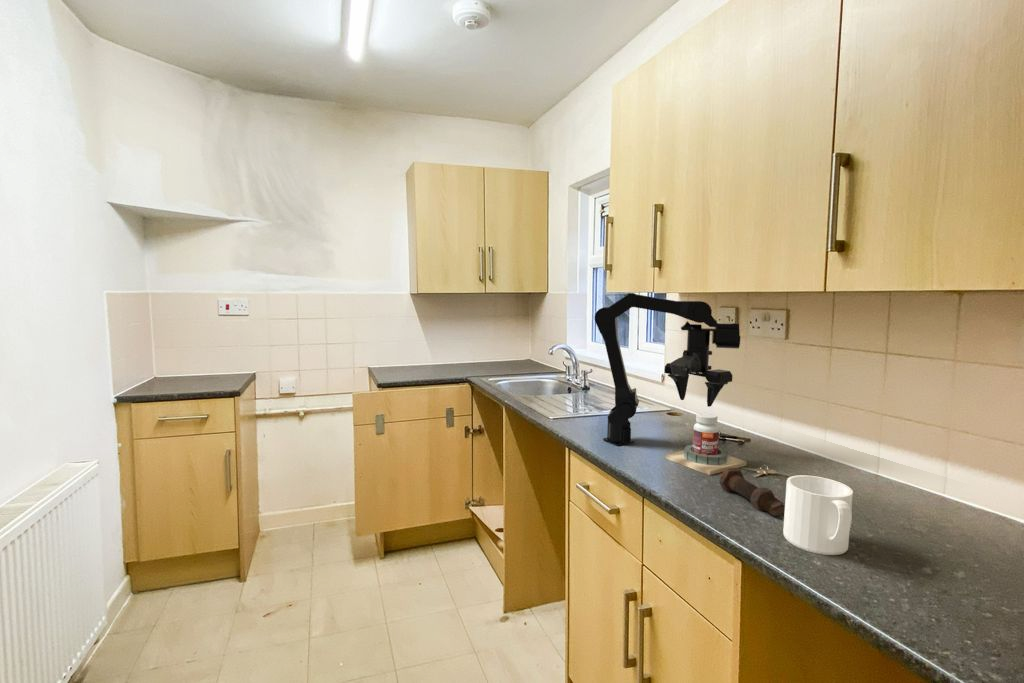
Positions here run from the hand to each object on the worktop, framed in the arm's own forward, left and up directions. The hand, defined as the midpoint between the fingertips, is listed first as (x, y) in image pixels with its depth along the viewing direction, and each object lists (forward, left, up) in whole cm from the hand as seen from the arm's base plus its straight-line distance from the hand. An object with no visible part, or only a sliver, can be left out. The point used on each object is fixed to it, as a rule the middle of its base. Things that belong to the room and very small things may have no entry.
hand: (695, 403), depth 142 cm
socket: (+9, -6, -13) cm, 17 cm away
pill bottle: (+9, -6, -12) cm, 16 cm away
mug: (+48, -24, -13) cm, 55 cm away
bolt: (+31, -18, -14) cm, 38 cm away
